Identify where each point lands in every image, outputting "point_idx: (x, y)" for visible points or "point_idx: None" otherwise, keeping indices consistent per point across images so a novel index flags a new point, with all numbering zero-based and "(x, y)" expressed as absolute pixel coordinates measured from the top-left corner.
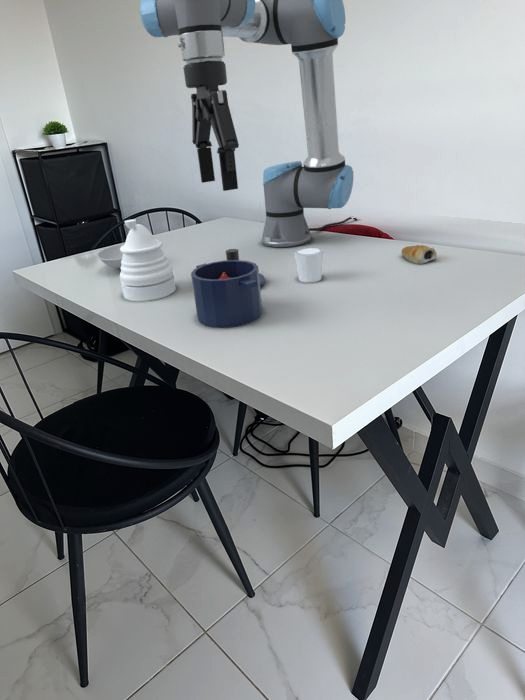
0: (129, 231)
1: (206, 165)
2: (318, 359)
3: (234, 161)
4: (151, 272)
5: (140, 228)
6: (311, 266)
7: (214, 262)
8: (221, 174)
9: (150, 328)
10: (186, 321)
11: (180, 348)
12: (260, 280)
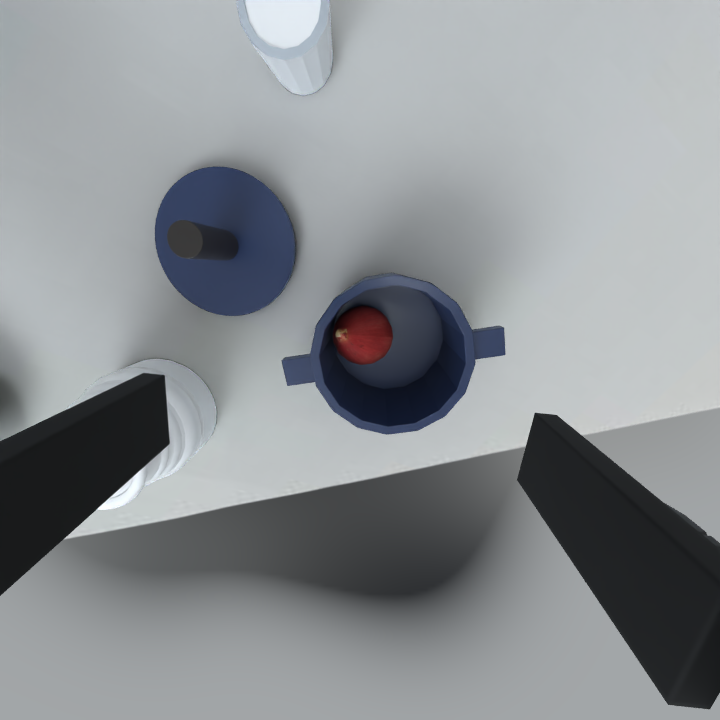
0: None
1: (96, 463)
2: (655, 307)
3: (678, 522)
4: (182, 436)
5: None
6: (328, 48)
7: (315, 352)
8: (563, 541)
9: (351, 462)
10: None
11: (457, 453)
12: (264, 195)
